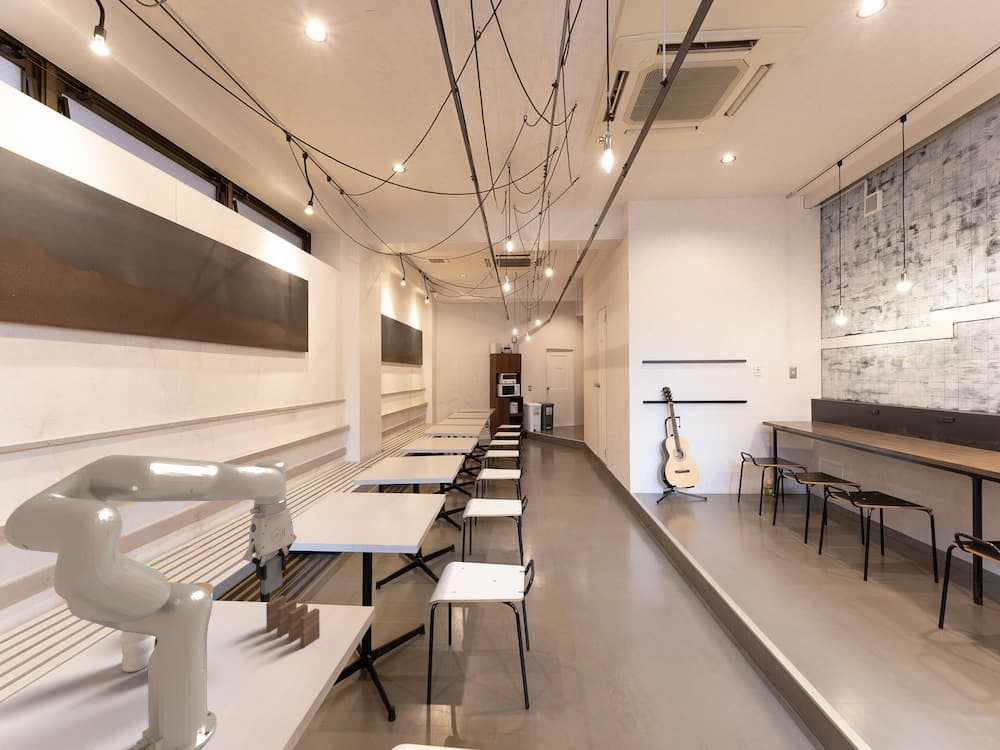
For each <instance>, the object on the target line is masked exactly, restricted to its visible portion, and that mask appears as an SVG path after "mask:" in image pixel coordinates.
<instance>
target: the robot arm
mask: <svg viewBox="0 0 1000 750" xmlns="http://www.w3.org/2000/svg"><path fill="white" fill-rule="evenodd" d="M286 469H287V467H286V463H285V462H284V461H283V460H281V459H267V460H261V461H259V462H257V463H254V464H249V465H241V464H232V463H231V464H230V463H225V462H219V461H210V460H199V459H187V458H175V457H173V458H172V457H167V456H154V455H153V456H152V455H150V456H149V455H133V454H132V455H129V454H128V455H127V454H126V455H125V454H112V455H107V456H103V457H101V458H98V459H96V460H94V461H92V462H90V463H88V464H86V465H83V466H82V467H80V468H78V469H77V470H75V471H74V472H72V473H70V474H69V475H67V476H65V477H64V478H61V479H60V480H58V481H57V482H55V483H53V484H51V485H50V486H47V488H44V489H43V490H41V491H40V492H38V493H36V494H35V495H33V496H32V497H30V498H28V499H27V500H25V501H24V502H23V503H21V504H19V506H18V507H16V508H15V509H14V510H13V511H12V512H11V513H10V514H9V516H8V518H7V519H6V521H5V524H4V528H3V533H4V538H5V540H7V542H8V543H9V544H10V545H11V546H13V547H16V548H17V549H20V550H24V551H32V552H43V553H52V554H57V558H56V563H55V567H54V572H53V588H54V591H55V593H56V595H57V596H58V597H60V598H62V599H63V600H64V601H66V605H67V609H68V611H69V612H70V613H71V614H72V615H73V616H74V617H75V618H78V619H81V620H83V621H86V622H89V623H92V624H95V625H99V626H103V627H107V628H108V629H109V628H110V629H114V630H117V631H121V632H122V631H124V632H130V633H138V634H145V635H149V636H155V637H156V638H157V640H158V641H157V645H156V647H155V649H154V650H153V652H152V654H151V656H150V658H149V662H148V666H147V692H148V693H147V694H148V695H147V700H148V701H147V704H148V706H147V707H148V709H147V711H148V713H147V714H148V719H147V720H148V725H147V726H148V727H147V728H146V729H145V730H143V731H142V733H141V735H142V738H140V739H138V740H137V741H136V744H135V745H133V746H132V747H130V748H127V750H201V748H202V747H204V745H206V743H208V741H209V740H210V739H211V738H212V737H213V735H214V733H215V731H216V729H217V716H216V715H215V713H214V712H212V711H211V710H208V649H207V648H208V632H209V631H208V630H209V623H210V619H211V614H212V611H213V610H212V609H213V604H214V603H213V596H211V594H210V593H209V591H208V590H207V589H205V588H203V587H201V586H198V585H194V584H193V583H186V582H176V581H173V582H172V581H169V580H168V577H166V575H165V574H164V573H162V571H160V570H158V569H156V568H154V567H152V566H151V567H149V566H146V565H147V564H143V563H141V562H139V561H137V560H135V559H133V558H130V557H128V556H127V555H126V554H124V553H122V552H121V551H120V540H121V537H122V531H123V519H122V514H121V513H120V511H119V509H118V508H117V507H115V505H113V504H112V503H110V502H107V501H114V502H115V501H116V502H132V503H133V502H135V503H152V502H153V503H155V502H160V503H161V502H163V503H164V502H213V501H215V502H217V501H232V500H233V501H234V500H235V501H236V500H237V501H238V500H241V501H242V500H243V501H247V500H248V501H249V500H251V501H252V500H253V503H254V504H253V508H250V510H249V512H250V515H252V514H253V515H252V516H251V520H250V526H249V535H248V536H249V538H248V548H247V549H246V552H245V553H244V556H242V560H244V561H247V562H250V563H251V564H253V565H255V576H256V579H258V580H260V581H261V580H263V581H265V580H266V579H267V565H265V561H266V559H267V555H270V554H272V553H275V552H276V551H277V554H275V555H276V556H282V557H281V559H282V572H285V571H286V570H287V556H288V555H289V551H290V549H291V547H292V545H293V544H294V542H295V541H296V540H297V538H298V537H297V535H295V533H294V525H293V517H292V514H291V509H290V508H289V507H287V471H286ZM253 555H254V556H253Z"/></svg>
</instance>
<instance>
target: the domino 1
mask: <svg viewBox="0 0 1000 750" xmlns="http://www.w3.org/2000/svg"><path fill="white" fill-rule="evenodd" d="M281 557H282V556H273V557H272V558H269V559H267V560H265V565H267V579H266V580H265V581H263V580H260V593H261V595H264V596H265V595H268V594H270V592H273V591H274V590H277V589H278V588H280V587H282V586H283V571H282V559H281Z"/></svg>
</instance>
